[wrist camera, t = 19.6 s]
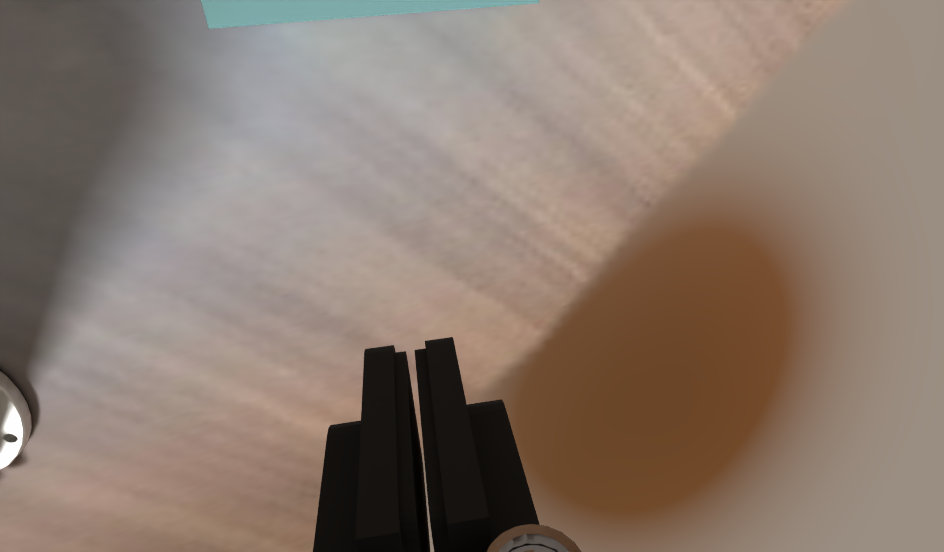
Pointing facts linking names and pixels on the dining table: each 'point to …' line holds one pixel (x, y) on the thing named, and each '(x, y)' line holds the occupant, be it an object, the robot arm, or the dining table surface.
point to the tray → (327, 9)
